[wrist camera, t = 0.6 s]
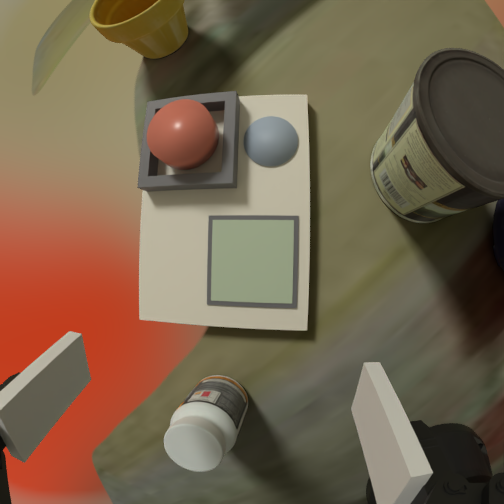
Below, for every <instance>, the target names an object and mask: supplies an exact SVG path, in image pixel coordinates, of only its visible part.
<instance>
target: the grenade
mask: <svg viewBox="0 0 504 504" xmlns="http://www.w3.org/2000/svg"><path fill="white" fill-rule="evenodd" d="M493 238H494V246H493V249H494V254H495V258H496V260H497V263H498V266H501V268H502V269H503V271H504V199H500V200H498V201H497V204H496V208H495V213H494V220H493Z"/></svg>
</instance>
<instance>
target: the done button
mask: <svg viewBox="0 0 504 504" xmlns="http://www.w3.org/2000/svg"><path fill="white" fill-rule="evenodd" d="M218 141H219V130H218V127H217V124H216V122H215V121H214V119H213V118H212V116H211V114H210V113H209V111H208V110H207V109H206V107H205V106H204V105H202V104H201V103H199V102H197V101H194V100H190V99H181V100H176V101H173V102H171V103H169V104H167V105H165V106H164V107H162V108H161V109H160V110H159V111H158V112H157V113H156V114H155V115H154V117H153V118H152V120H151V122H150V124H149V127H148V130H147V143H148V147H149V149H150V151H151V152H152V153H153V155H154V156H156V157H157V158H158V159H160V160H161V161H162V162H164V163H165V164H167V165H168V166H170V167H172V168H174V169H178V170H189V169H193V168H196V167H198V166H200V165H202V164H203V163H205V162H206V161H207V160H208V159H209V158H210V157H211V156H212V154H213V153H214V151H215V150H216V147H217V145H218Z"/></svg>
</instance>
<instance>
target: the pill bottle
mask: <svg viewBox="0 0 504 504" xmlns="http://www.w3.org/2000/svg"><path fill="white" fill-rule="evenodd" d="M247 409H248V397H247V394H246V392H245V390H244V388H243V387H242V386H241V385H240V384H239V383H238V382H237V381H235V380H234V379H232V378H230V377H227V376H222V375H213V376H209V377H206V378H204V379H203V380H201V381H200V382H199V383H198V384H197V385H196V386H195V388H194V389H193V390H192V391H191V392H190V393H189V395H188V396H187V397H186V399H185V400H184V401H183V402H182V404H181V405H180V406H179V407H178V408H177V410H176V411H175V412H174V414H173V416H172V418H171V422H170V427H169V429H168V430H167V432H166V434H165V436H164V447H165V450H166V452H167V454H168V455H169V456H170V458H171V459H172V460H173V461H174V462H175V463H177V464H178V465H180V466H181V467H183V468H186V469H188V470H192V471H197V472H204V471H209V470H212V469H214V468H215V467H217V466H218V465H219V464H220V462H221V461H222V459H223V456H224V455H225V454H226V453H227V452H229V451H230V450H231V449H232V447H233V446H234V445H235V443H236V440H237V437H238V435H239V432H240V429H241V426H242V423H243V421H244V418H245V415H246V412H247Z"/></svg>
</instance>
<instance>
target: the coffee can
mask: <svg viewBox="0 0 504 504" xmlns="http://www.w3.org/2000/svg"><path fill="white" fill-rule="evenodd" d="M370 168H371V176H372V180H373V184H374V186H375V188H376V191H377V192H378V194H379V196H380V197H381V199H382V200H383V202H384V203H385V204H386V205H387V206H388V207H389V208H390V209H391V210H392V211H393V212H394V213H396V214H397V215H398V216H400V217H402V218H404V219H406V220H409V221H412V222H416V223H431V222H435V221H438V220H440V219H442V218H444V217H448V216H451V215H454V214H457V213H460V212H463V211H466V210H469V209H472V208H475V207H478V206H481V205H484V204H487V203H490V202H494V201H497V200H500V199H504V70H503V69H502V68H501V67H500V66H498V65H497V64H496V63H494V62H493V61H491V60H490V59H488V58H486V57H484V56H482V55H480V54H478V53H476V52H473V51H470V50H466V49H461V48H446V49H441V50H438V51H436V52H434V53H432V54H430V55H429V56H428V57H427V58H426V59H425V60H424V61H423V63H422V64H421V66H420V67H419V69H418V71H417V74H416V76H415V80H414V83H413V84H412V86H411V88H410V89H409V91H408V93H407V95H406V96H405V98H404V100H403V101H402V103H401V105H400V106H399V108H398V110H397V111H396V113H395V115H394V116H393V118H392V120H391V121H390V123H389V125H388V126H387V128H386V129H385V131H384V133H383V134H382V136H381V137H380V138H379V139H378V141H377V142H376V144H375V146H374V148H373V152H372V155H371V162H370Z"/></svg>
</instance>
